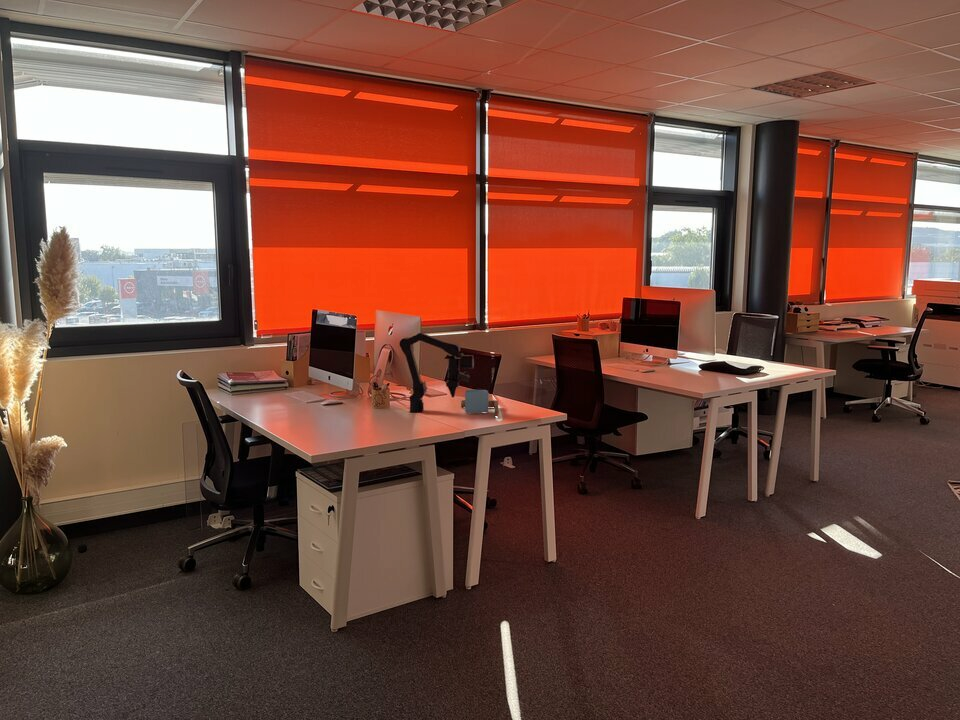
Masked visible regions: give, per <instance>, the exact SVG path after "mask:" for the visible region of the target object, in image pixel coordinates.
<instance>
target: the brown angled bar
mask: <svg viewBox="0 0 960 720" xmlns="http://www.w3.org/2000/svg"><path fill="white" fill-rule="evenodd" d="M461 407H465V399H461V401H460V408H461ZM488 407H494V408H493V409H494V410H493V411H494V412H493V417H494V416H498V417H499V400H494V399H492V400H490V399H488Z"/></svg>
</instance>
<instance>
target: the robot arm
mask: <svg viewBox="0 0 960 720" xmlns="http://www.w3.org/2000/svg"><path fill="white" fill-rule="evenodd" d="M419 341H421V342H423V343H426V344H428V345H431V346H434V347H436V348H438V349H441V350H443V351H444V352H446V353H447V355H446V356H445V357H444V360H448V362H447V363H448V364H447V381H446V383H445V386H446V387H447V389H448V391H449V393H450V395H451V398H455V396H456V390H457V388H459V386H460V383H459V382H461V381H463V382H465V383H469V380H470V377H471V376H470V375H469V372H468V371H464V372H461V370H460V367H461V369H474V368H475V367H474V366H475V359H474V355H473V354H471V355H469V354H468V355H467V354H466V355H465V354H464V353H463V352H462V350H461V346H460V344H458V343H457V342H453V341H452V342H451V341H445V340H443V339H440V338H437V337H434V336H432V335H429V334H427V333H424V332H422V331H421V332H417V334H415V335H412V336H410V337H409V336H406V337H403V338H402V339H400V341H399V344H398V345H399V348H400V349H401V352H402V353H403V354H404V356H405V358H406V362H407V366H408V369H409V370H408V371H409V373H410V376H411V381H412V392H413V393H412V394H411V395H410V396H409V397H408V399H409V413H423V411H424V410H425V409H424V408H425V407H424V406H425V403H424V400H423V397H424V396H425V395H426V394H427V390H428V387H427V384H426V383H427V382H426V381H423V380H422V378H421V375H420V372H419V369H418V364H417V361H416V358H415V354H414V351H415V347H414V344H416V343H418V342H419Z"/></svg>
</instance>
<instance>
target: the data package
mask: <svg viewBox="0 0 960 720" xmlns="http://www.w3.org/2000/svg"><path fill="white" fill-rule="evenodd" d="M464 394H465V395H464V400H465V408H464V412H465V413H466V414H467V413H482V412H488V413H489V408H488V400H489V390H486V389H467V390H465V393H464Z"/></svg>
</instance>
